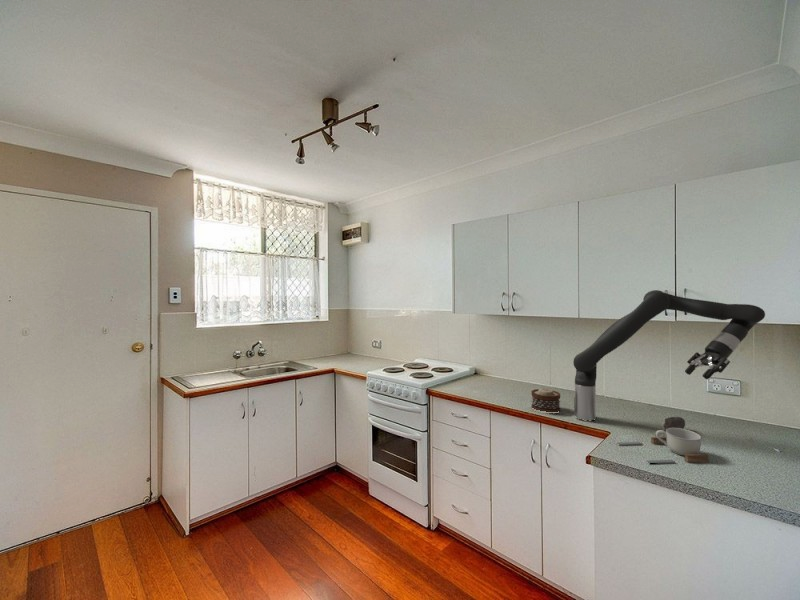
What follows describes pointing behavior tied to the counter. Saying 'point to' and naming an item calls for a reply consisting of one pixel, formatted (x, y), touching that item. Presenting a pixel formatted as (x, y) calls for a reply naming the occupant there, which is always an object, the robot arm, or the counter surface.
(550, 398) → the chocolate cake
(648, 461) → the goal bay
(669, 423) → the perforated stone tool
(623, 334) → the robot arm
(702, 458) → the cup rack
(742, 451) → the counter surface
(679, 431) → the teacup
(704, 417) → the counter surface
